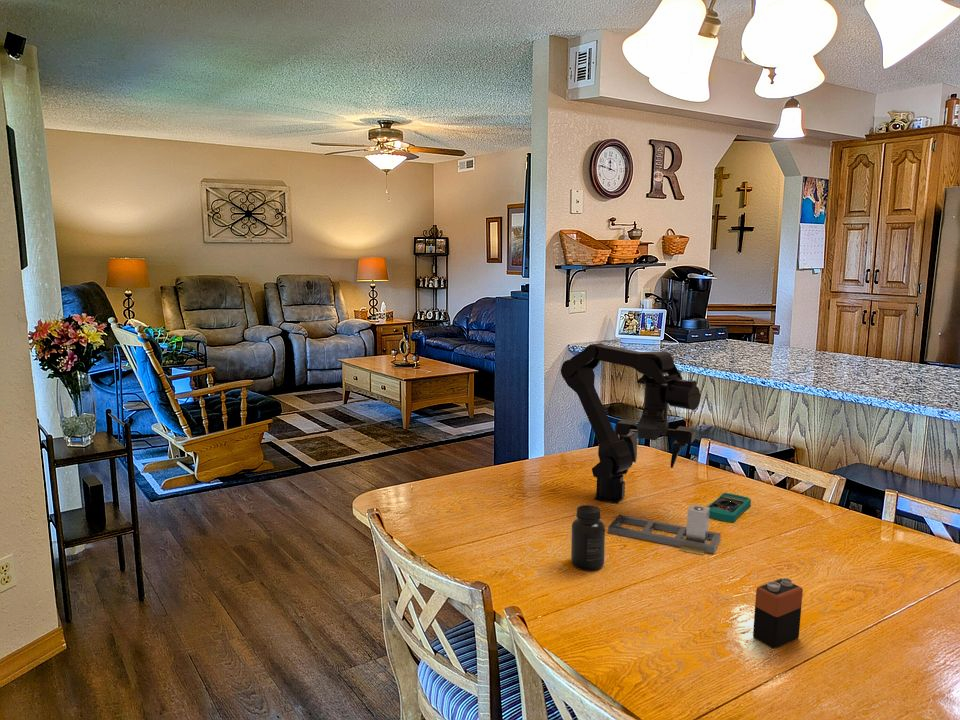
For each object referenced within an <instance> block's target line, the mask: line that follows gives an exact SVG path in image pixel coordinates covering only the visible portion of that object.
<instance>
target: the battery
mask: <svg viewBox="0 0 960 720" xmlns="http://www.w3.org/2000/svg"><path fill="white" fill-rule="evenodd" d="M755 590H756V591H755V602H754V615H753V616H754V617H753V631H752V636H753V639H756V640H758V641H760V642H762V643H764V644H765V645H767V646H769V647H770V648H773V649H776V648H779V647H780V646H783V645H785V644H787V643H790V642H792V641H793V640H796V639H799V637H800V627H801V618H802V617H801V616H802V606H803V605H802V602H803V592H804V589H803V587H801V586H799V585H798V584H795V583H793V581H792V579H790V578H788V577H787V578H785V577H784V578H782V577H781V578H779V579H775V580H773V581H768V582H766V583H765V584H761V585H759V586H757V587H756V589H755Z"/></svg>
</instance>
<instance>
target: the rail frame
mask: <svg viewBox="0 0 960 720" xmlns="http://www.w3.org/2000/svg"><path fill="white" fill-rule="evenodd" d="M623 524H626V525H633V526H637V527H641V528H643V529H642V530H638V529H633V528H628V527H624V526H622V525H623ZM654 530H657V531H663V532H669V533H673V534H676V535H675V537H673V536H668V535H664V534H659V533H654V532H653V531H654ZM686 530H687V526H684V525H678V524H673V523H668V522H661V521H657V520H652V519H646V518H641V517H637V516H636V517H635V516H630V515H625V514H620V513H619V514H618V515H617V516H616V518H615V519H613V521H612V522H611V523H610V524H609V525H608V527H607V531H608V534H612V535H617V536H621V537H622V536H623V537H627V538H632V539H638V540H642V541H648V542H651V543H658V544H662V545H665V546H666V545H667V546H671V547H677V548H679V551H681V552H687V553H691V554H695V555H700V556H704V555H705V554H711V555H715V553H716V551H717V549H718V546H719V544H720V542H721V537H722V535H721V534H722V533H720V532H717V531H716V532H715V531H711V530H708V541H710V542H709V543H707V544H705V543H700V542H695V541H690V540H686Z"/></svg>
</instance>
